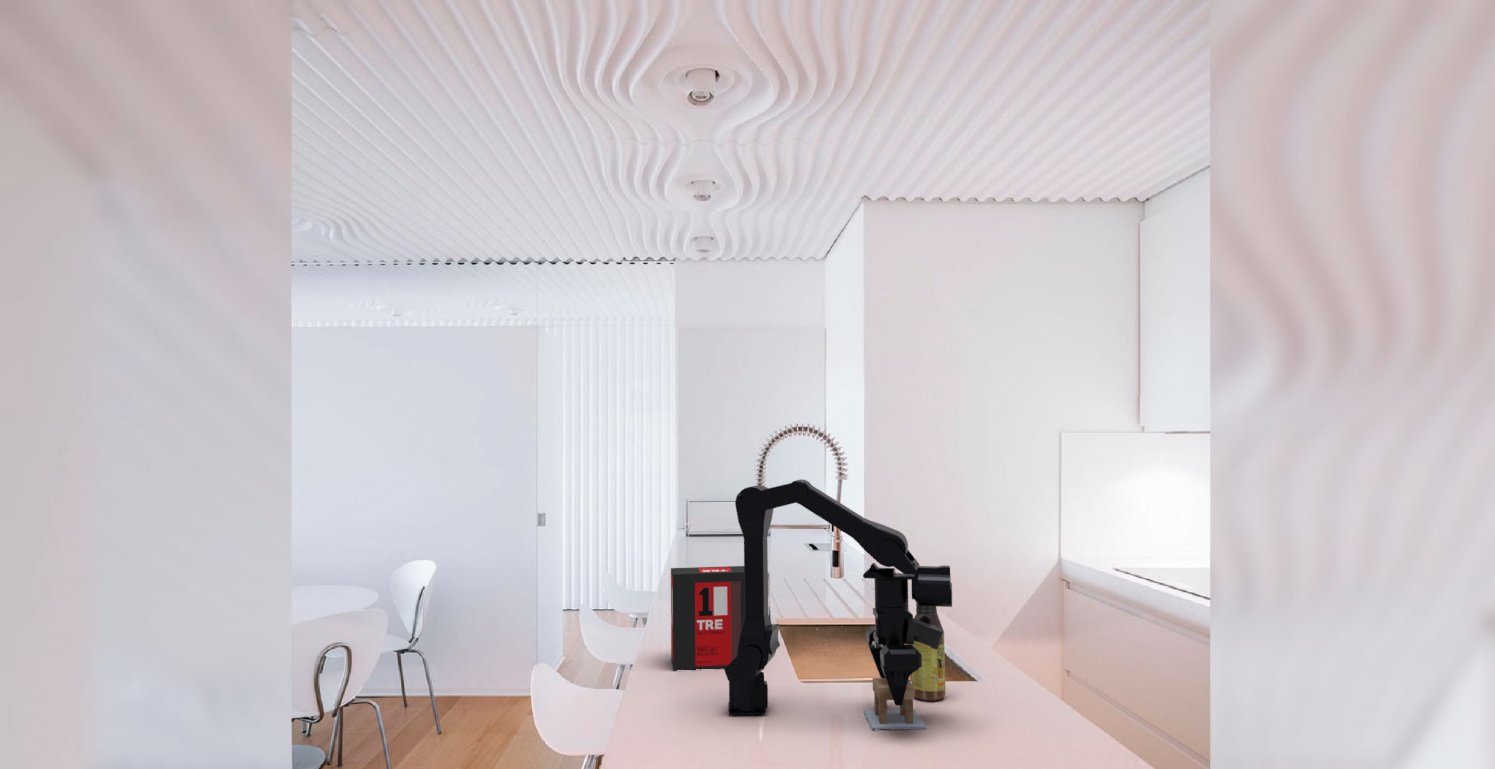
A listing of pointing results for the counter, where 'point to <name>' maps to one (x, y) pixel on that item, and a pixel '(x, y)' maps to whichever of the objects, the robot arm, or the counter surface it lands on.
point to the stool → (884, 694)
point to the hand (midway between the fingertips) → (893, 697)
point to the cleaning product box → (706, 616)
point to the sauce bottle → (929, 663)
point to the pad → (893, 720)
